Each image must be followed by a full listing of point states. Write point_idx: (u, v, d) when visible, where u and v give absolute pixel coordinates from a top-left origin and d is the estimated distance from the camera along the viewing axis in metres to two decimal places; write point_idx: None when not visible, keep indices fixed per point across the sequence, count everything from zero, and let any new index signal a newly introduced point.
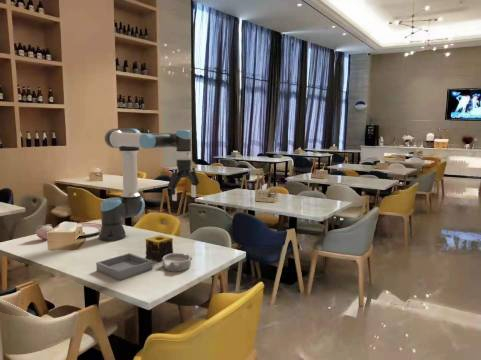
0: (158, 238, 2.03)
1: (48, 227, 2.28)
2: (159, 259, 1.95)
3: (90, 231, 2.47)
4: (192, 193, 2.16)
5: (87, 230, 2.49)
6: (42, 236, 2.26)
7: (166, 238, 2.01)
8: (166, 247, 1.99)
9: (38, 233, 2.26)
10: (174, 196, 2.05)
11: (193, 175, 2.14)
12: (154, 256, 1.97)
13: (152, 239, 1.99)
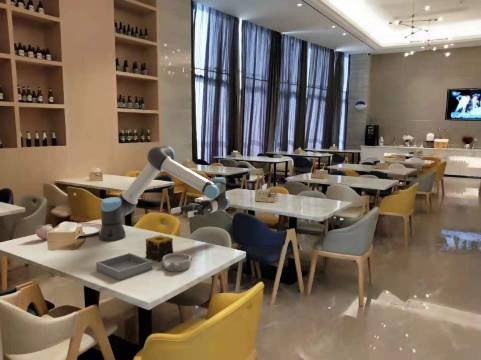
0: (158, 238, 2.03)
1: (48, 227, 2.28)
2: (159, 259, 1.95)
3: (90, 231, 2.47)
4: (174, 210, 2.15)
5: (87, 230, 2.49)
6: (42, 236, 2.26)
7: (166, 238, 2.01)
8: (166, 247, 1.99)
9: (38, 233, 2.26)
10: (191, 214, 2.07)
11: None
12: (154, 256, 1.97)
13: (152, 239, 1.99)
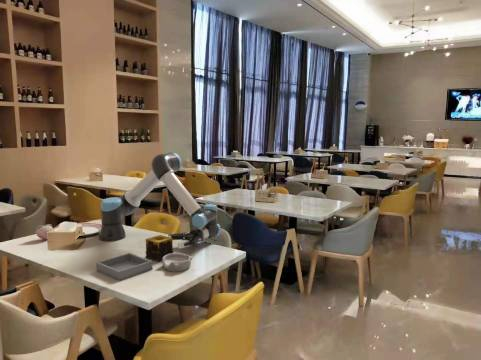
0: (158, 238, 2.03)
1: (48, 227, 2.28)
2: (159, 259, 1.95)
3: (90, 231, 2.47)
4: None
5: (87, 230, 2.49)
6: (42, 236, 2.26)
7: (166, 238, 2.01)
8: (166, 247, 1.99)
9: (38, 233, 2.26)
10: (182, 245, 2.03)
11: None
12: (154, 256, 1.97)
13: (152, 239, 1.99)
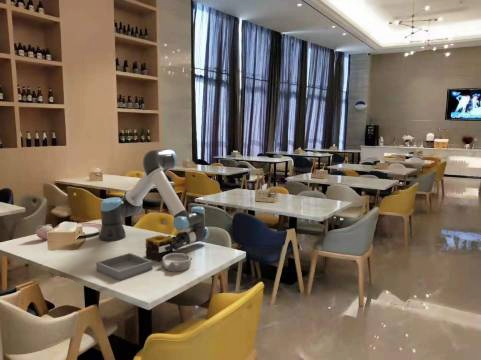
0: (158, 238, 2.03)
1: (48, 227, 2.28)
2: (159, 259, 1.95)
3: (90, 231, 2.47)
4: None
5: (87, 230, 2.49)
6: (42, 236, 2.26)
7: (166, 238, 2.01)
8: None
9: (38, 233, 2.26)
10: (163, 249, 1.96)
11: None
12: (154, 256, 1.97)
13: (152, 239, 1.99)
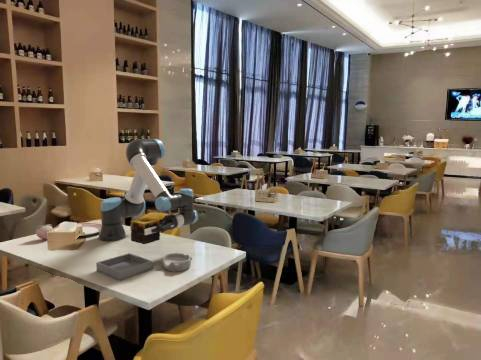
0: (144, 220, 1.92)
1: (48, 227, 2.28)
2: (145, 241, 1.84)
3: (90, 231, 2.47)
4: None
5: (87, 230, 2.49)
6: (42, 236, 2.26)
7: (152, 220, 1.90)
8: None
9: (38, 233, 2.26)
10: (149, 232, 1.84)
11: None
12: (139, 239, 1.85)
13: (137, 221, 1.87)
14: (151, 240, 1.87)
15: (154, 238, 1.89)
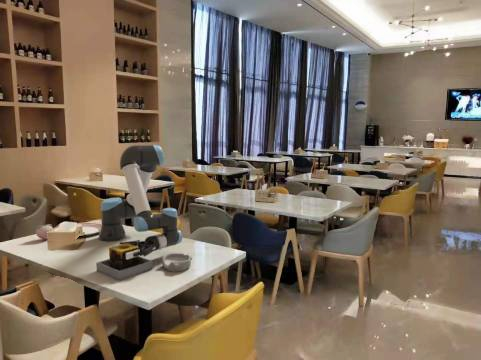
0: (123, 247, 1.85)
1: (48, 227, 2.28)
2: None
3: (90, 231, 2.47)
4: None
5: (87, 230, 2.49)
6: (42, 236, 2.26)
7: (131, 247, 1.83)
8: None
9: (38, 233, 2.26)
10: (131, 256, 1.77)
11: None
12: (117, 267, 1.79)
13: (116, 248, 1.81)
14: None
15: None
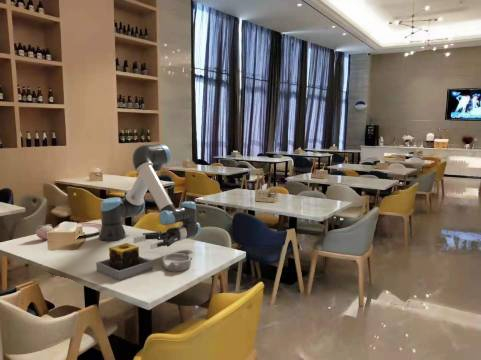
0: (123, 247, 1.85)
1: (48, 227, 2.28)
2: None
3: (90, 231, 2.47)
4: (137, 238, 1.96)
5: (87, 230, 2.49)
6: (42, 236, 2.26)
7: (131, 247, 1.83)
8: (131, 257, 1.81)
9: (38, 233, 2.26)
10: (155, 246, 1.88)
11: None
12: (117, 267, 1.79)
13: (116, 248, 1.81)
14: None
15: None
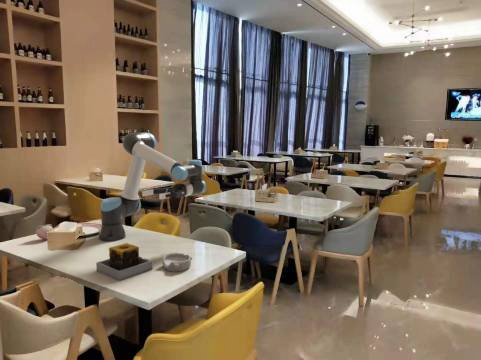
0: (123, 247, 1.85)
1: (48, 227, 2.28)
2: None
3: (90, 231, 2.47)
4: (146, 192, 2.04)
5: (87, 230, 2.49)
6: (42, 236, 2.26)
7: (131, 247, 1.83)
8: (131, 257, 1.81)
9: (38, 233, 2.26)
10: (163, 197, 1.96)
11: None
12: (117, 267, 1.79)
13: (116, 248, 1.81)
14: None
15: None
